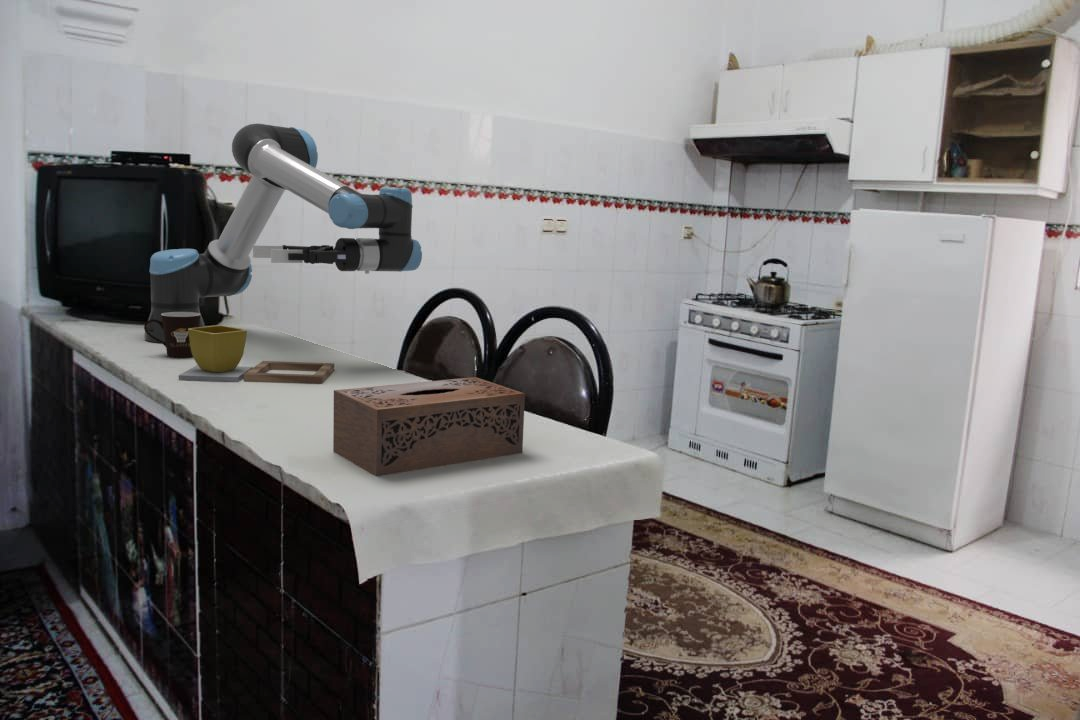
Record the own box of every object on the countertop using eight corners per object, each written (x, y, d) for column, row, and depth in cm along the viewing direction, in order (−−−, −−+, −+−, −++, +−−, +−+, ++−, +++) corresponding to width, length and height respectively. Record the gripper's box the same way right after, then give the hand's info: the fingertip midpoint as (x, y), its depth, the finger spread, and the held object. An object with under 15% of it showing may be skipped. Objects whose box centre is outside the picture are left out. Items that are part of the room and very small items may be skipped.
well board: (262, 367, 201) (262, 360, 201) (334, 369, 202) (334, 363, 202) (243, 381, 186) (243, 374, 185) (321, 383, 187) (321, 376, 186)
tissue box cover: (473, 433, 153) (475, 377, 151) (522, 454, 142) (524, 393, 140) (333, 453, 138) (333, 390, 136) (375, 478, 126) (376, 409, 125)
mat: (197, 369, 196) (197, 364, 195) (252, 371, 196) (252, 366, 196) (178, 380, 184) (178, 375, 184) (237, 381, 185) (237, 377, 184)
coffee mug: (207, 354, 214) (207, 313, 213) (190, 360, 206) (189, 317, 204) (161, 351, 215) (160, 310, 214) (142, 357, 207) (141, 314, 205)
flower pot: (248, 370, 192) (248, 329, 190) (214, 376, 185) (214, 333, 183) (221, 365, 197) (220, 324, 195) (187, 370, 189) (186, 328, 188)
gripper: (376, 276, 193) (279, 276, 182) (335, 266, 214) (246, 266, 202) (377, 241, 192) (279, 239, 180) (336, 235, 212) (246, 233, 201)
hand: (261, 253), depth 191 cm, fingers open, 13 cm apart
